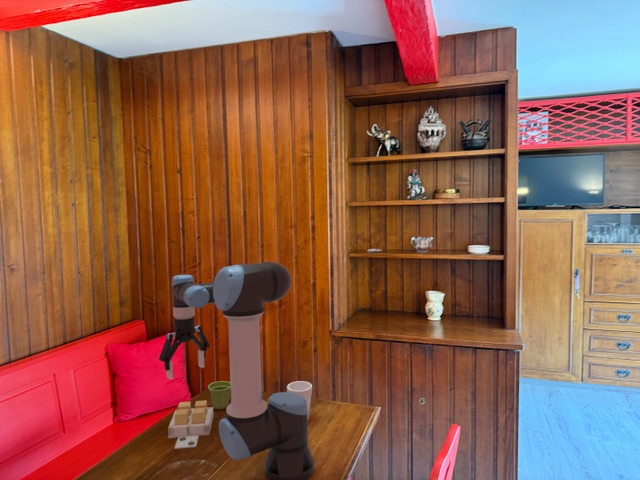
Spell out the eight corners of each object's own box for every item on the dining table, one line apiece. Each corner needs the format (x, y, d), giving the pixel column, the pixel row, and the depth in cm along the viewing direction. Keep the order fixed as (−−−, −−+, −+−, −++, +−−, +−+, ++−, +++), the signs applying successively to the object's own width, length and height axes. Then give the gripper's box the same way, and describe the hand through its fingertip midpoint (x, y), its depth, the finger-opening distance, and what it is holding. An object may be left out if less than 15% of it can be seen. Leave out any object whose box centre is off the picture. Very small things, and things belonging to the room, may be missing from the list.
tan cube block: (189, 416, 161) (188, 406, 161) (178, 417, 160) (177, 407, 160) (191, 411, 165) (190, 401, 165) (180, 412, 164) (179, 402, 164)
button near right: (203, 423, 156) (203, 412, 156) (192, 424, 155) (191, 413, 155) (205, 418, 160) (204, 407, 159) (194, 418, 159) (193, 408, 159)
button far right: (205, 415, 162) (205, 405, 161) (194, 416, 161) (194, 405, 161) (207, 410, 166) (206, 400, 165) (196, 411, 165) (196, 401, 165)
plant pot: (225, 399, 183) (225, 379, 182) (236, 406, 176) (236, 386, 175) (204, 405, 177) (204, 385, 176) (215, 414, 170) (214, 392, 169)
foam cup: (309, 426, 159) (309, 392, 158) (285, 424, 161) (284, 390, 160) (314, 414, 169) (313, 381, 168) (291, 412, 170) (290, 380, 169)
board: (209, 434, 154) (208, 425, 154) (168, 438, 153) (167, 428, 152) (213, 415, 168) (213, 406, 168) (176, 418, 166) (175, 409, 166)
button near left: (186, 424, 155) (186, 414, 155) (175, 425, 155) (174, 414, 154) (188, 419, 159) (188, 408, 159) (177, 420, 158) (176, 409, 158)
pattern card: (195, 447, 147) (195, 445, 146) (174, 449, 146) (174, 447, 146) (198, 436, 153) (198, 434, 153) (178, 438, 153) (178, 436, 152)
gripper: (205, 308, 173) (207, 360, 174) (147, 322, 153) (149, 380, 155) (217, 311, 168) (219, 364, 170) (158, 326, 149) (161, 386, 150)
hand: (186, 372), depth 162 cm, fingers open, 13 cm apart
